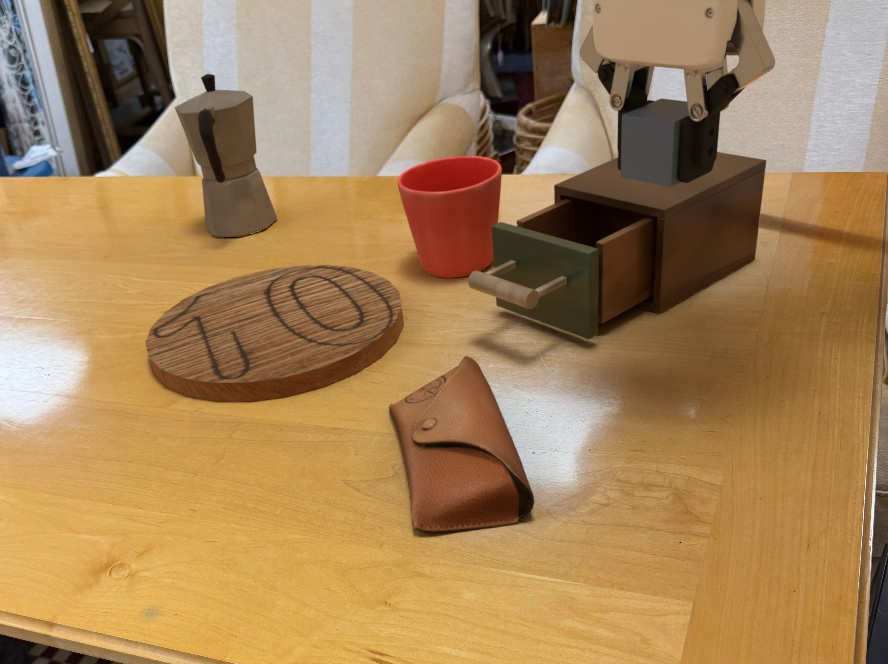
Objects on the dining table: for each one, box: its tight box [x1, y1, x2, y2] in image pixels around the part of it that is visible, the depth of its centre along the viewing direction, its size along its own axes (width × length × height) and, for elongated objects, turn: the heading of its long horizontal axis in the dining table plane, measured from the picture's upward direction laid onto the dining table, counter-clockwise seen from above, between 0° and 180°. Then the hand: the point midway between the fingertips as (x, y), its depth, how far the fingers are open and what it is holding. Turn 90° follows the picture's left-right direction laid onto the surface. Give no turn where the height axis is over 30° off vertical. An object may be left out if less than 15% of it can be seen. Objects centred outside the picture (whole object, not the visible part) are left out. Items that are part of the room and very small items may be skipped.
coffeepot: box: [174, 73, 278, 239], centre depth 110 cm, size 15×9×18 cm, turn 1°
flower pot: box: [397, 155, 503, 279], centre depth 95 cm, size 11×11×10 cm
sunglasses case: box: [388, 355, 535, 534], centre depth 67 cm, size 18×7×7 cm, turn 7°
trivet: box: [144, 264, 405, 403], centre depth 88 cm, size 25×25×2 cm
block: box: [621, 97, 689, 187], centre depth 62 cm, size 4×4×4 cm
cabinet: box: [553, 151, 767, 315], centre depth 87 cm, size 15×13×10 cm
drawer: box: [467, 197, 658, 340], centre depth 82 cm, size 19×11×8 cm, turn 129°
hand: (664, 168), depth 63 cm, fingers closed on block, 4 cm apart
